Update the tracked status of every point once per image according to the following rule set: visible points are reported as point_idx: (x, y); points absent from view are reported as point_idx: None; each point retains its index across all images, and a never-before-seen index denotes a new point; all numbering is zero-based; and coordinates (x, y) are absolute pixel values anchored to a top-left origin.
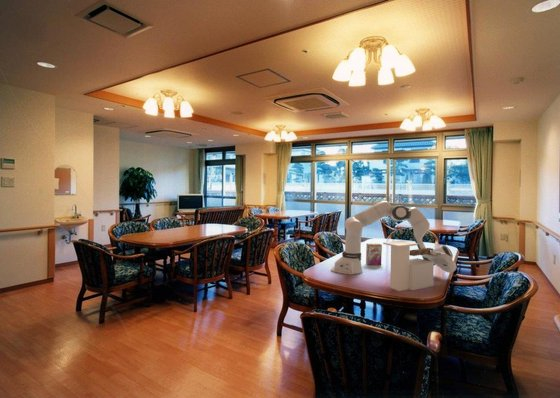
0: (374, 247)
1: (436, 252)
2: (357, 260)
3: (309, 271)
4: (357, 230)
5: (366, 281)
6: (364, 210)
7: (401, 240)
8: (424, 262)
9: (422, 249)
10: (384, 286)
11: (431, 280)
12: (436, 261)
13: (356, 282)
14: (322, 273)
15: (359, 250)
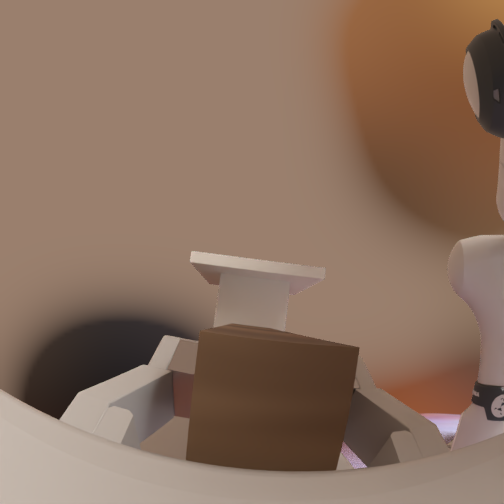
0: None
1: (76, 433)
2: (478, 414)
3: (451, 415)
4: (450, 277)
5: (356, 466)
6: None
7: (322, 268)
8: (172, 436)
9: (250, 328)
10: None
11: None
12: None
13: (349, 449)
14: (440, 424)
15: (496, 373)
